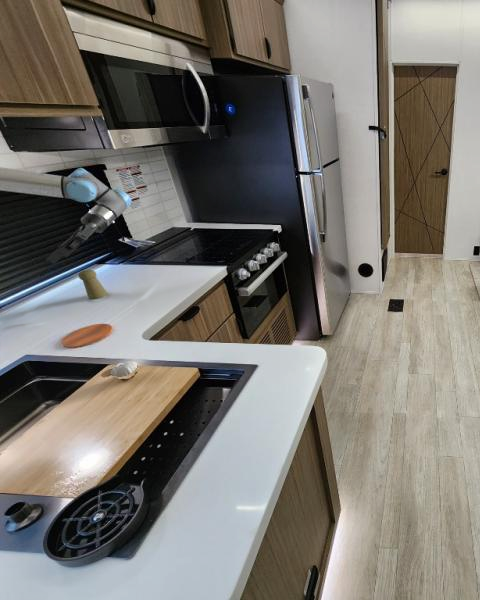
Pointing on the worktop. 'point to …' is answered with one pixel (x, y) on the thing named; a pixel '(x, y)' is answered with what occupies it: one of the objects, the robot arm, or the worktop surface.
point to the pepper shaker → (92, 284)
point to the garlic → (124, 368)
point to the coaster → (86, 335)
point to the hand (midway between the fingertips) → (55, 258)
